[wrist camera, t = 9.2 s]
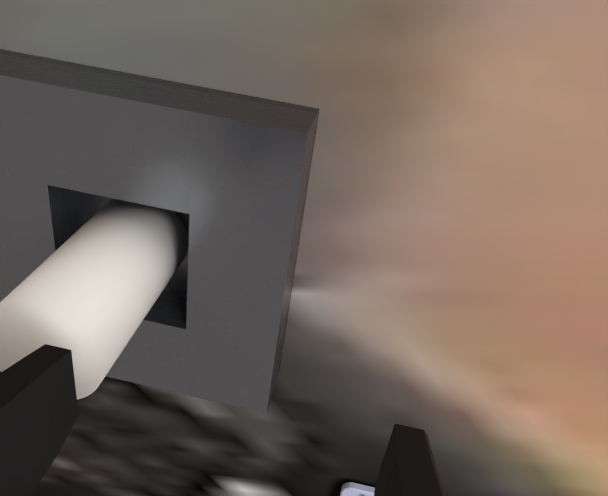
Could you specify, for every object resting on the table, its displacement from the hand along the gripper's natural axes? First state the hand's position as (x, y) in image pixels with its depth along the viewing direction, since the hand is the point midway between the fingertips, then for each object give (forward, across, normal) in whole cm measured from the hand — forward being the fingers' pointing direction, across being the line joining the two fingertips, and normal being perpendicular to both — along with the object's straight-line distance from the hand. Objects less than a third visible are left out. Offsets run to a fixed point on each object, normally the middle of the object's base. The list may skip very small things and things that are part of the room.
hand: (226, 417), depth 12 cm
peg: (+9, +6, +2) cm, 11 cm away
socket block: (+10, +6, +2) cm, 12 cm away
